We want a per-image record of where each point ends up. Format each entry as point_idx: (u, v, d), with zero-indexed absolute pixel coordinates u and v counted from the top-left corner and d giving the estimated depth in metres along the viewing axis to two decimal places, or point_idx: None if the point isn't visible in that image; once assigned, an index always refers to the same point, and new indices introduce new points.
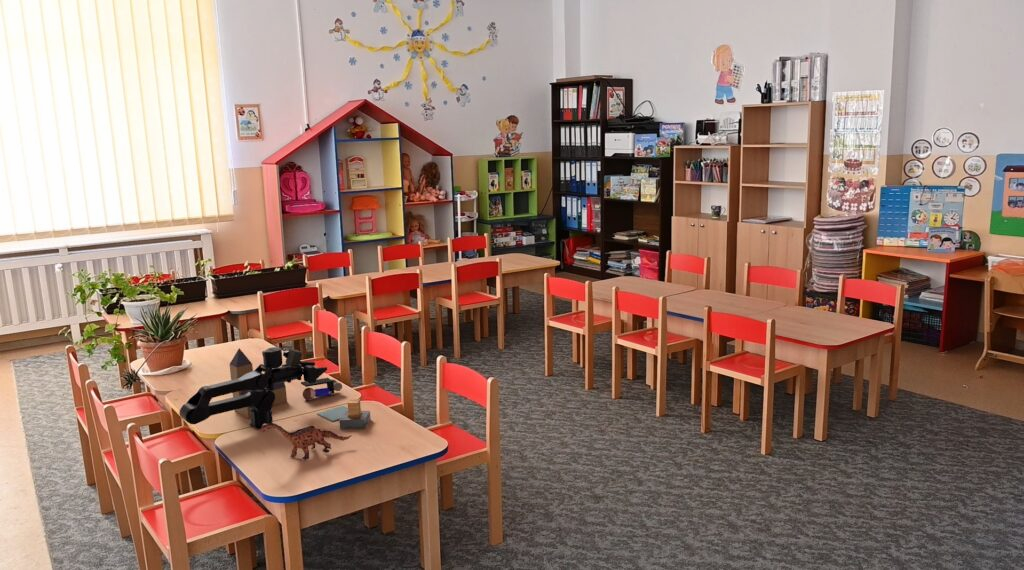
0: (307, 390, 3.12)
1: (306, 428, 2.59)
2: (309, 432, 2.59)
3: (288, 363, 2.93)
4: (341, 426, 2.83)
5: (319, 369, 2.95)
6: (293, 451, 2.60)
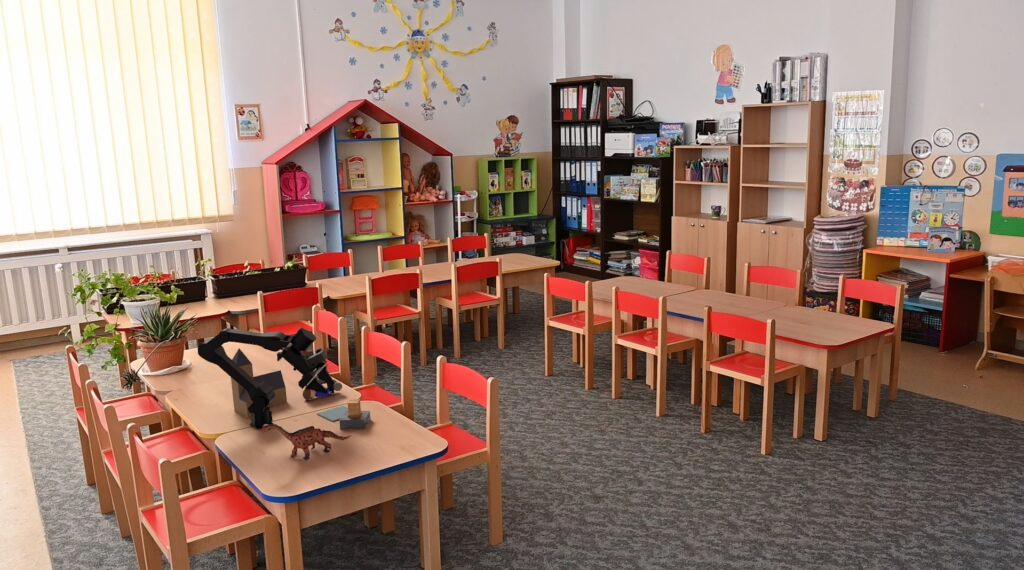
0: (307, 390, 3.12)
1: (306, 428, 2.59)
2: (309, 432, 2.58)
3: (310, 357, 2.83)
4: (341, 426, 2.83)
5: (319, 385, 2.79)
6: (293, 451, 2.60)
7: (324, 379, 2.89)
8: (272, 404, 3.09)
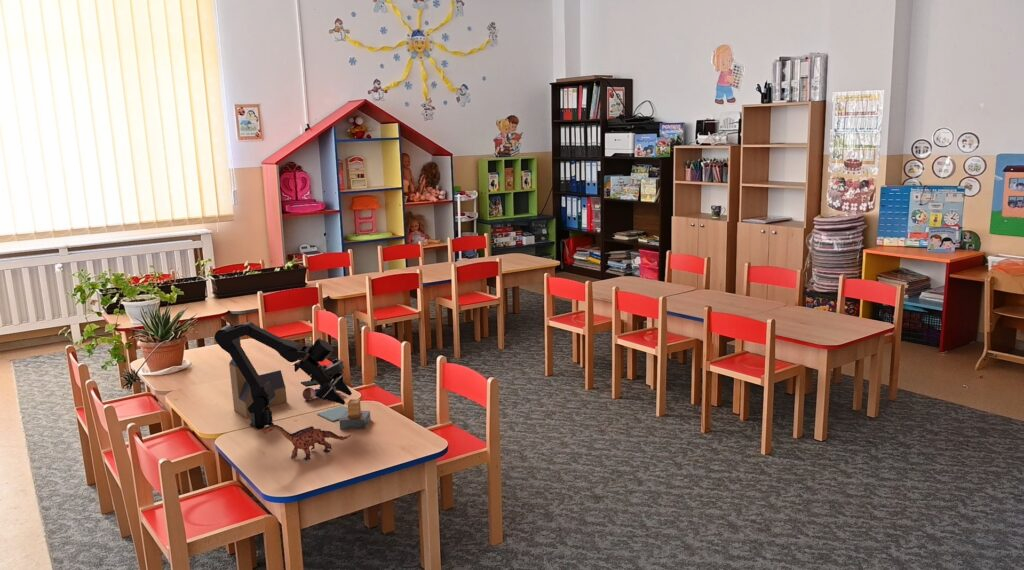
0: (307, 390, 3.12)
1: (307, 429, 2.59)
2: (310, 432, 2.58)
3: (327, 368, 2.83)
4: (341, 426, 2.83)
5: (337, 396, 2.79)
6: (293, 452, 2.59)
7: (341, 389, 2.90)
8: (272, 404, 3.09)
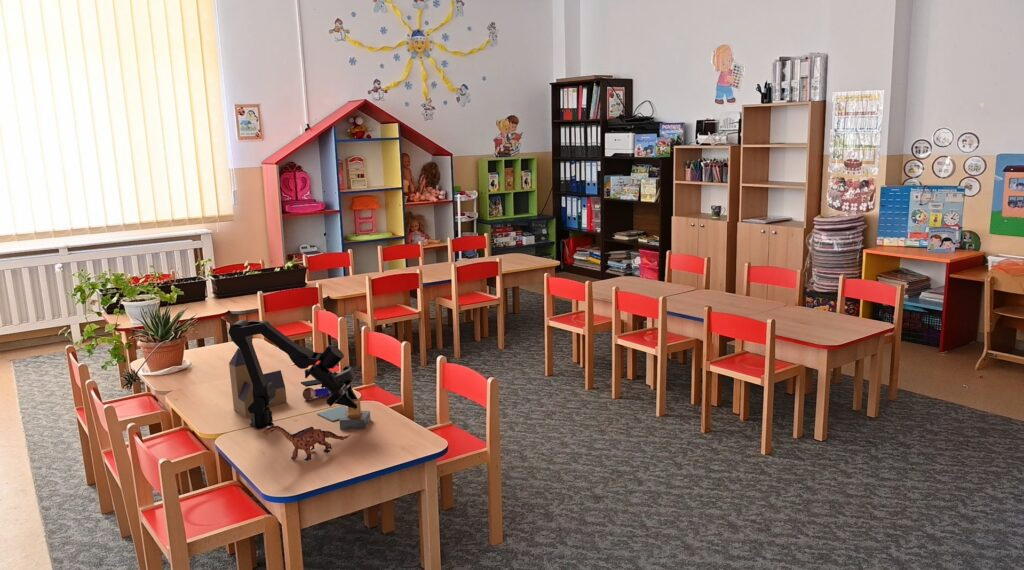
0: (307, 390, 3.12)
1: (307, 429, 2.58)
2: (311, 433, 2.58)
3: (337, 374, 2.84)
4: (341, 426, 2.83)
5: (349, 400, 2.82)
6: (294, 453, 2.58)
7: None
8: (271, 404, 3.09)
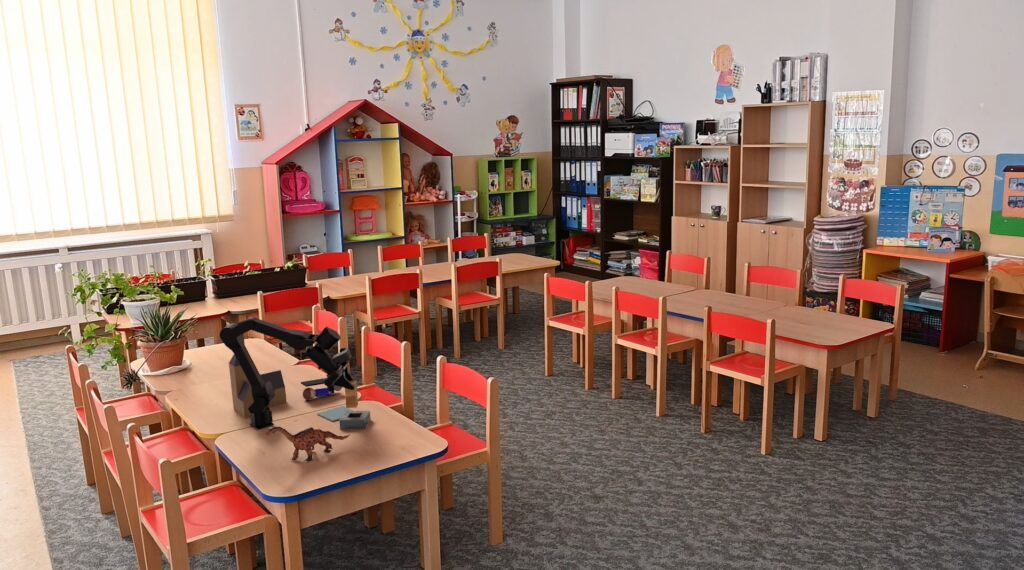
0: (307, 390, 3.12)
1: (308, 430, 2.58)
2: (311, 433, 2.58)
3: (334, 356, 2.84)
4: (341, 426, 2.83)
5: (346, 382, 2.82)
6: (295, 454, 2.58)
7: None
8: (271, 404, 3.09)
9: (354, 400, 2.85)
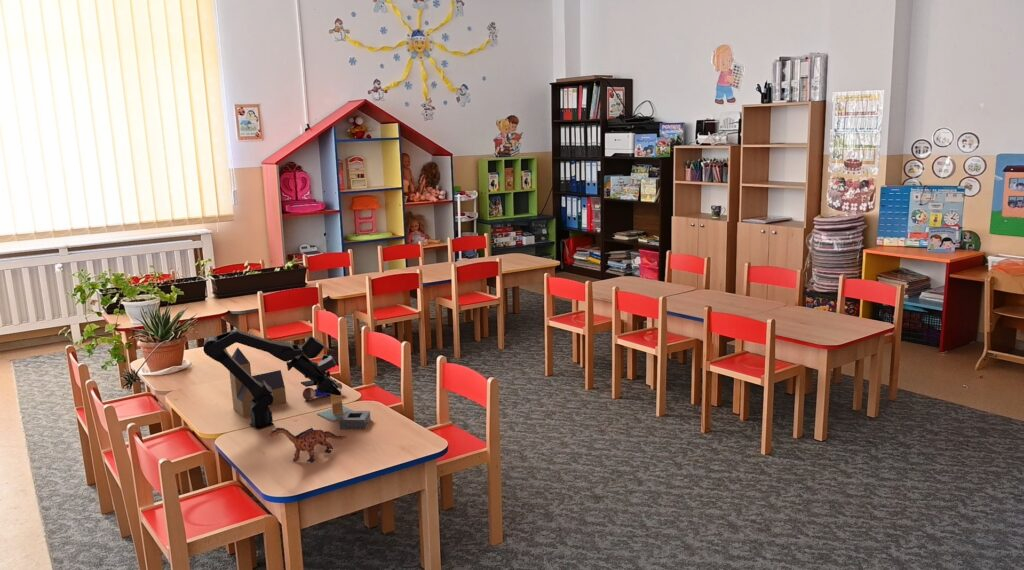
0: (307, 390, 3.12)
1: (309, 430, 2.57)
2: (313, 434, 2.57)
3: (319, 364, 2.92)
4: (341, 426, 2.83)
5: (334, 388, 2.91)
6: (296, 455, 2.57)
7: None
8: (271, 404, 3.09)
9: (341, 406, 2.96)
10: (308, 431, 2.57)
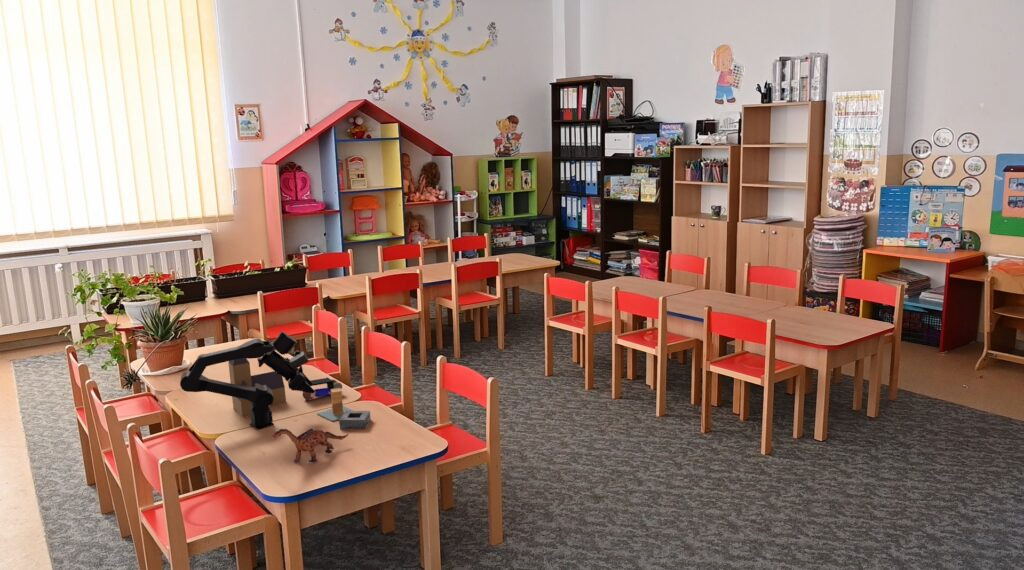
0: None
1: (310, 431, 2.57)
2: (314, 434, 2.57)
3: (291, 360, 2.89)
4: (341, 426, 2.83)
5: (307, 385, 2.86)
6: (297, 456, 2.56)
7: None
8: None
9: (341, 406, 2.96)
10: (309, 432, 2.56)
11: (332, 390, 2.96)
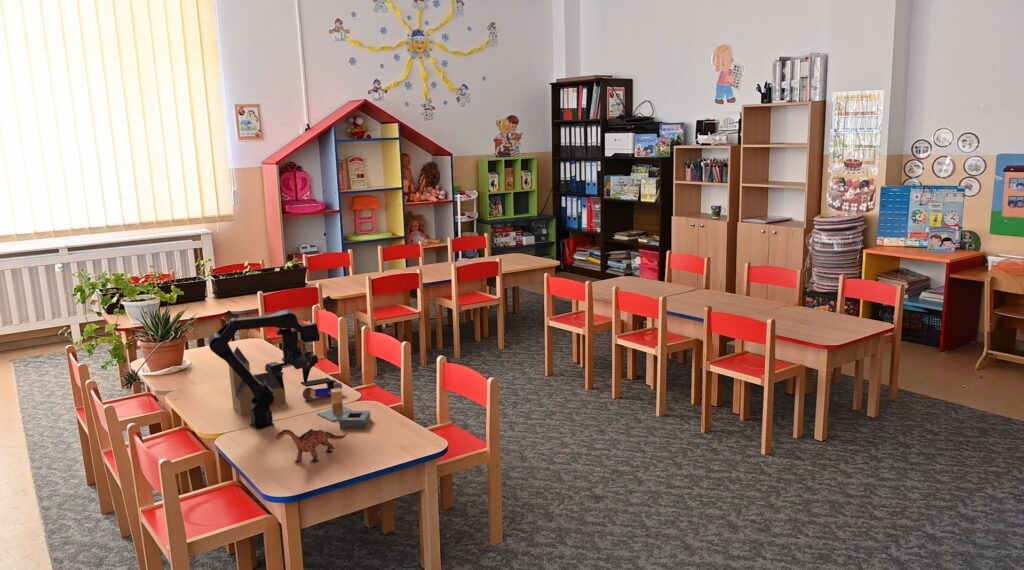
0: (307, 390, 3.12)
1: (311, 431, 2.56)
2: (315, 434, 2.56)
3: (296, 353, 2.86)
4: (341, 426, 2.83)
5: (279, 380, 2.86)
6: (298, 457, 2.55)
7: (303, 372, 2.95)
8: None
9: (341, 406, 2.96)
10: (310, 432, 2.56)
11: (332, 390, 2.96)
